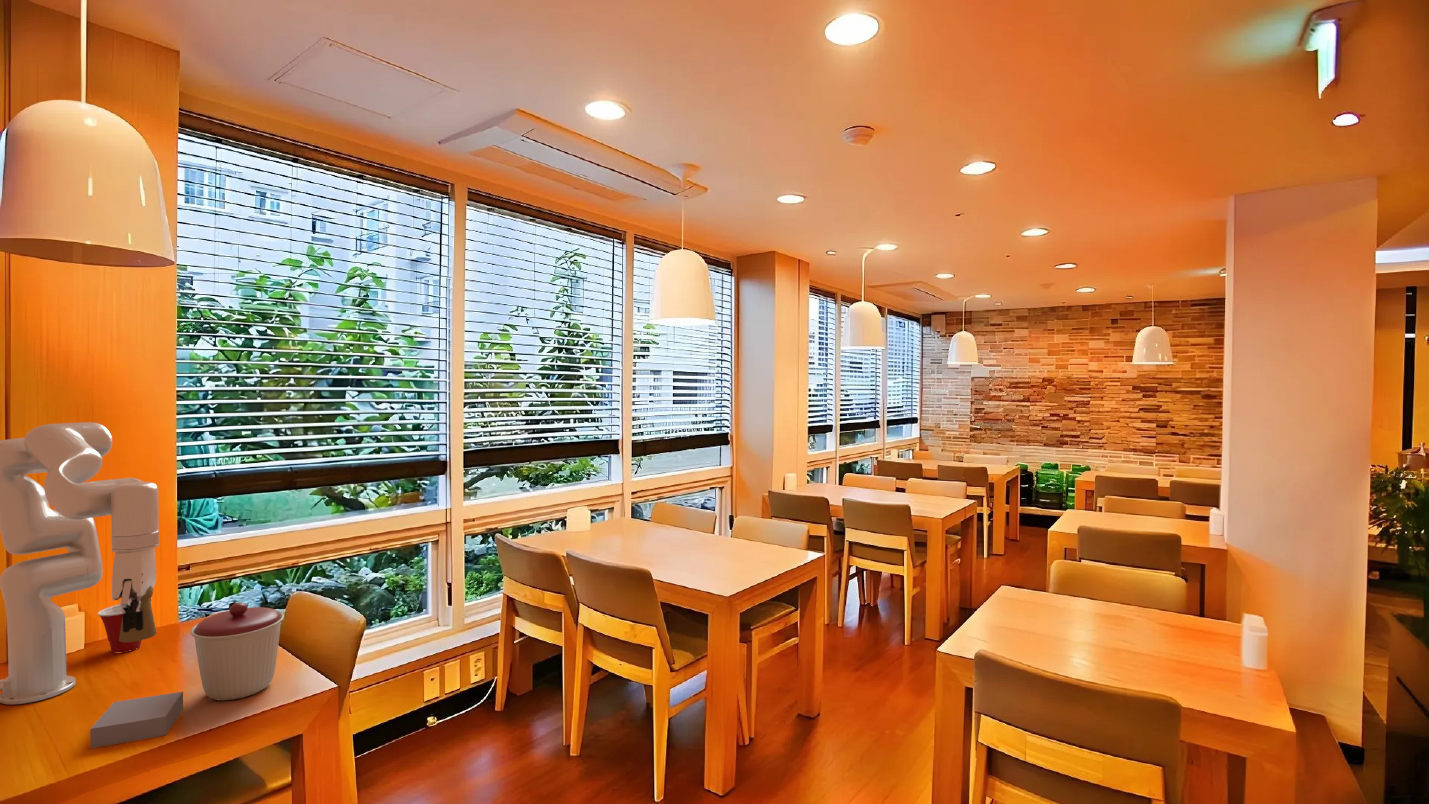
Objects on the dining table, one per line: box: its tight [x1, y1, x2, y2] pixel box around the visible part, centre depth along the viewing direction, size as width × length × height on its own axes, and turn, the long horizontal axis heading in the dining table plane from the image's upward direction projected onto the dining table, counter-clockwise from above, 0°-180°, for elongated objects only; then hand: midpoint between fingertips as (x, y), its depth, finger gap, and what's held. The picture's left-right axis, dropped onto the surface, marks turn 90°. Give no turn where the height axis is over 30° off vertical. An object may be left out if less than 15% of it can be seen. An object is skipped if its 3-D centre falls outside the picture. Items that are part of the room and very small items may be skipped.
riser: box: [90, 691, 184, 749], centre depth 141 cm, size 12×12×4 cm
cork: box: [119, 586, 157, 642], centre depth 140 cm, size 6×6×11 cm
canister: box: [189, 602, 285, 701], centre depth 158 cm, size 18×18×21 cm
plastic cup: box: [97, 603, 142, 653], centre depth 180 cm, size 11×11×12 cm
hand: (137, 625), depth 140 cm, fingers closed on cork, 4 cm apart
